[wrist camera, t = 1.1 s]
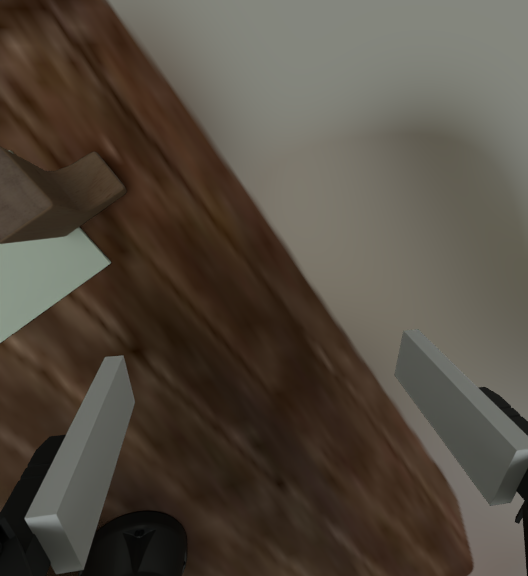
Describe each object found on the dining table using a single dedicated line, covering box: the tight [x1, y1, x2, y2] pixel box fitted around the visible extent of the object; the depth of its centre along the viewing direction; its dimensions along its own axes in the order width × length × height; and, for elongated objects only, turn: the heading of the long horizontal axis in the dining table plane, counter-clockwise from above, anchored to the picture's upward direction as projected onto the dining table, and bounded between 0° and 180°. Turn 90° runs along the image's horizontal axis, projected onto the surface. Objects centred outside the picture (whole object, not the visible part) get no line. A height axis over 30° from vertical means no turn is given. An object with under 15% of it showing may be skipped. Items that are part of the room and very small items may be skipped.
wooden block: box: [0, 147, 127, 244], centre depth 28 cm, size 9×4×18 cm, turn 126°
